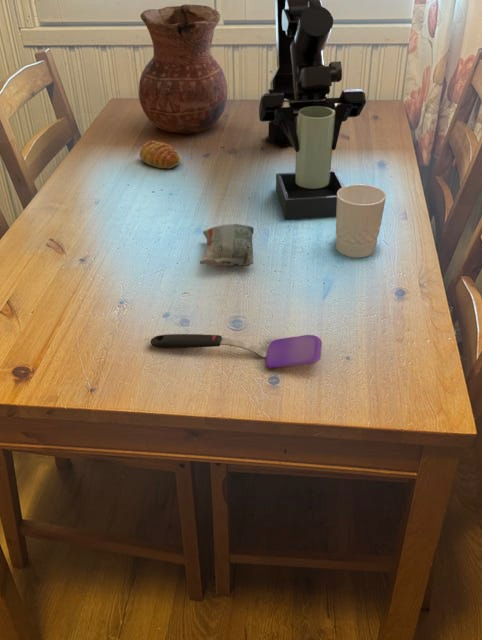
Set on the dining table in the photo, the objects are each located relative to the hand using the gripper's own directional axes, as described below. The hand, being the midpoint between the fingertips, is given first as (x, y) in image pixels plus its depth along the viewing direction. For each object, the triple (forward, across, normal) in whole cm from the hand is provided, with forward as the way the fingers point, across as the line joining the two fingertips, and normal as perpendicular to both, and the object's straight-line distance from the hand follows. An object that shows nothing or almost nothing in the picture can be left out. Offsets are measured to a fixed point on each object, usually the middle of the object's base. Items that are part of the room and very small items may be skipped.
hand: (315, 150), depth 124 cm
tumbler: (+4, 0, +6) cm, 7 cm away
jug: (-26, -22, +42) cm, 55 cm away
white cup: (+20, +4, -4) cm, 21 cm away
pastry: (-10, -28, +26) cm, 40 cm away
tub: (+7, 0, +9) cm, 11 cm away
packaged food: (+20, -18, -4) cm, 27 cm away
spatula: (+39, -19, -23) cm, 49 cm away
